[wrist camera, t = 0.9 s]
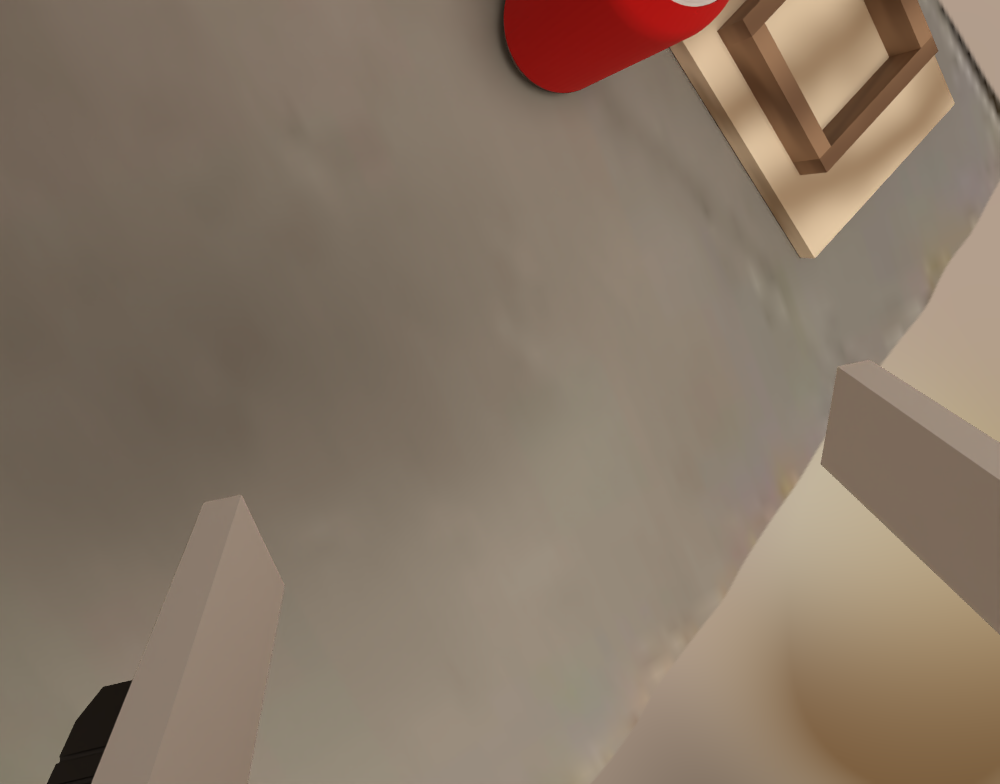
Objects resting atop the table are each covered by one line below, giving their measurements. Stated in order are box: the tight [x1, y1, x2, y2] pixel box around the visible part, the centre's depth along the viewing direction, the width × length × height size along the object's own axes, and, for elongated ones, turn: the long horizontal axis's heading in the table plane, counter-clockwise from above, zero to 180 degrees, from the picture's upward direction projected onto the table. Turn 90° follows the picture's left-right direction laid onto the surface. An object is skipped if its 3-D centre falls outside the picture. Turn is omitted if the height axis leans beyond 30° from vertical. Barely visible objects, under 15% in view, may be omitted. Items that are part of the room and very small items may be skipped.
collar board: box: [670, 0, 955, 258], centre depth 34 cm, size 20×14×3 cm
